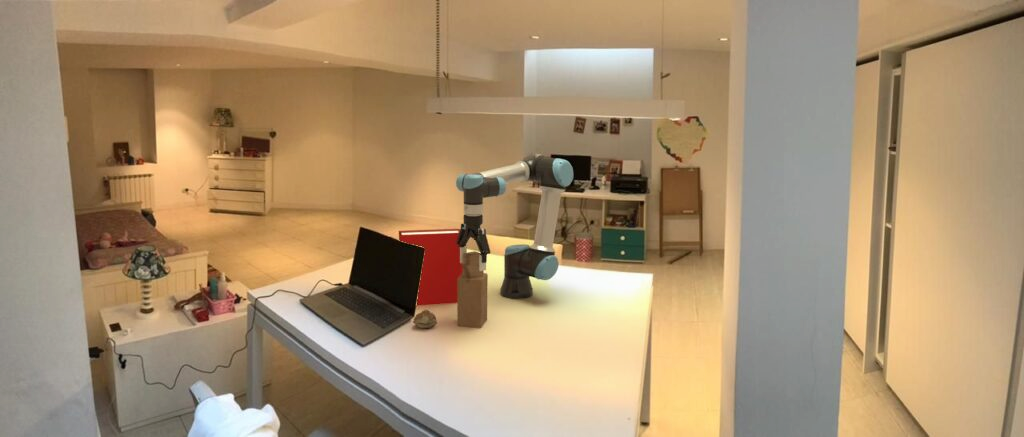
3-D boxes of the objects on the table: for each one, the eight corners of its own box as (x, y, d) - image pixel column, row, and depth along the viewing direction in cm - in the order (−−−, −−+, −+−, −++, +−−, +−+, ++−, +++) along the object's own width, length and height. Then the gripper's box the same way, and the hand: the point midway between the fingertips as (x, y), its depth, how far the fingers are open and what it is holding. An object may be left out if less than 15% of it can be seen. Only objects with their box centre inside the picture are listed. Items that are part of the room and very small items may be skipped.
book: (401, 306, 271) (400, 234, 265) (400, 300, 279) (398, 230, 273) (463, 302, 278) (463, 232, 272) (460, 296, 286) (460, 228, 279)
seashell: (437, 331, 246) (435, 322, 254) (438, 314, 244) (435, 306, 252) (414, 332, 244) (411, 323, 251) (414, 315, 242) (412, 307, 249)
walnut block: (462, 275, 250) (462, 253, 248) (475, 272, 254) (475, 251, 252) (471, 278, 246) (471, 256, 244) (483, 276, 249) (483, 254, 247)
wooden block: (481, 328, 248) (481, 280, 244) (457, 326, 250) (457, 278, 246) (487, 319, 258) (487, 273, 254) (463, 317, 260) (464, 271, 256)
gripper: (447, 210, 252) (448, 260, 256) (483, 220, 233) (483, 275, 237) (463, 208, 257) (463, 258, 261) (499, 218, 238) (499, 272, 242)
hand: (472, 266), depth 249 cm, fingers open, 13 cm apart
